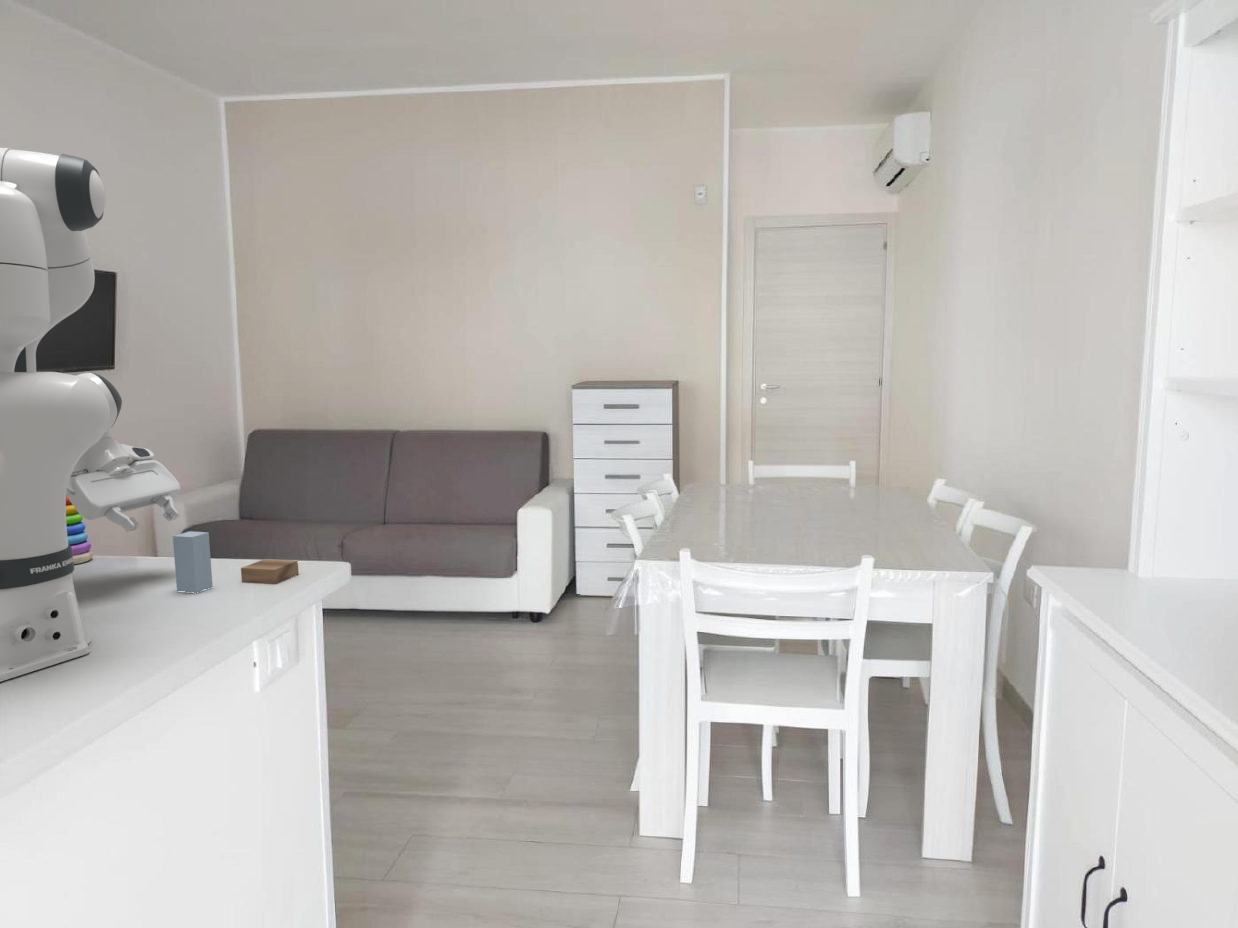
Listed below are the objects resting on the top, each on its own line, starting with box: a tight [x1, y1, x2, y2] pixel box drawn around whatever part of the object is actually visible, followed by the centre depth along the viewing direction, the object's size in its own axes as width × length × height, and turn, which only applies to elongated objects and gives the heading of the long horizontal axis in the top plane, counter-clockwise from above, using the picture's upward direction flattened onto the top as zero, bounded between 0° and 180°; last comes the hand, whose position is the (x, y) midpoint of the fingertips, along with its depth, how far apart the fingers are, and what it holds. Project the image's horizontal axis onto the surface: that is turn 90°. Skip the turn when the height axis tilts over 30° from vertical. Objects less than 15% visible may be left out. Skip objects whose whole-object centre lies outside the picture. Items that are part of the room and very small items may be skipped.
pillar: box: [172, 530, 214, 593], centre depth 155 cm, size 4×4×10 cm
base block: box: [240, 558, 300, 585], centre depth 163 cm, size 7×7×3 cm
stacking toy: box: [66, 494, 94, 565], centre depth 176 cm, size 8×8×19 cm
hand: (154, 523), depth 156 cm, fingers open, 8 cm apart
